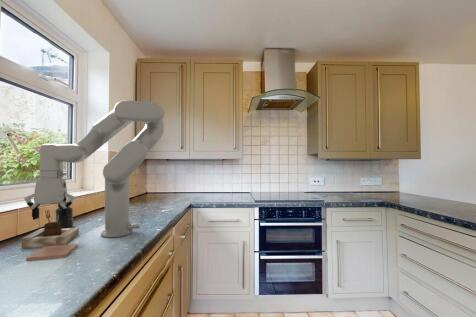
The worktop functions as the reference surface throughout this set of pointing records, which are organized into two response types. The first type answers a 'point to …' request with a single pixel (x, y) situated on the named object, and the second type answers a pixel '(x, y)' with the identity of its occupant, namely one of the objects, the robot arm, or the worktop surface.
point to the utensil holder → (52, 227)
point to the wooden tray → (49, 238)
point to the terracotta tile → (52, 252)
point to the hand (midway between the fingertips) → (49, 218)
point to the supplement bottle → (66, 221)
